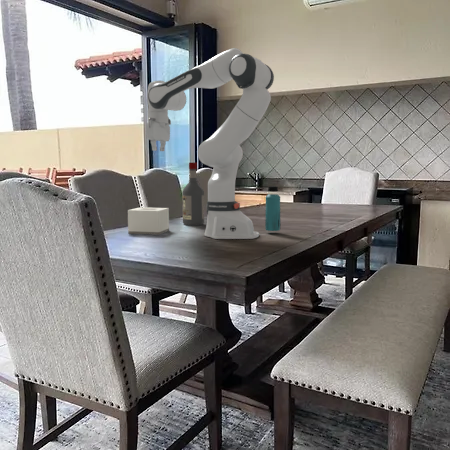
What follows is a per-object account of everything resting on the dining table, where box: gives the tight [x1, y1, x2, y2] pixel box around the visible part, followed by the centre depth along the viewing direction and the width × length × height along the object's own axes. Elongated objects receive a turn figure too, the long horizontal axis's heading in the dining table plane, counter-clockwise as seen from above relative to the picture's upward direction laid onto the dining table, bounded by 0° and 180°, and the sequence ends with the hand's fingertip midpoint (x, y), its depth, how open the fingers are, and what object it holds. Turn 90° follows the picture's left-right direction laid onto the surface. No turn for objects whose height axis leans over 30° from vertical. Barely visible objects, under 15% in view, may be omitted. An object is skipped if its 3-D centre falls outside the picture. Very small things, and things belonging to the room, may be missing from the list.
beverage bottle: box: [264, 185, 282, 232], centre depth 188 cm, size 6×7×20 cm
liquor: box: [181, 162, 205, 227], centre depth 217 cm, size 9×9×30 cm
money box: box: [127, 207, 170, 236], centre depth 194 cm, size 14×12×10 cm
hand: (158, 150), depth 200 cm, fingers open, 8 cm apart
